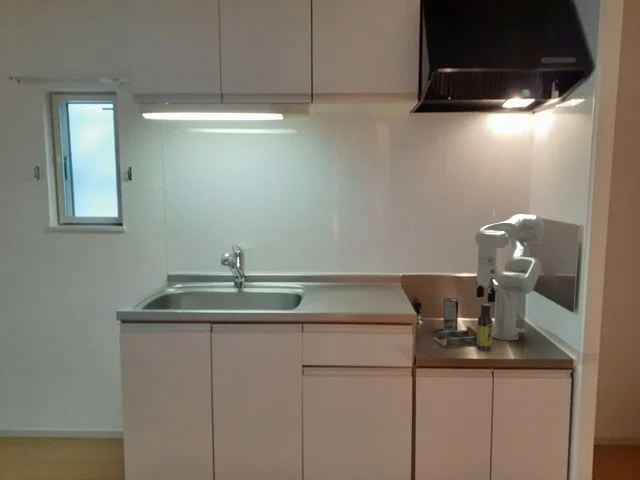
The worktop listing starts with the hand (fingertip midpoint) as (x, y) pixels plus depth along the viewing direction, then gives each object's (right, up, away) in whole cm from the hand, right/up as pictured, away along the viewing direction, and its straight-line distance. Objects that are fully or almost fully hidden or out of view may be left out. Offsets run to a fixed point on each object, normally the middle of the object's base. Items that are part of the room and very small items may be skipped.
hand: (485, 299), depth 207 cm
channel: (-9, -21, +11) cm, 26 cm away
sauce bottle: (0, -22, +3) cm, 22 cm away
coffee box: (-8, -20, +27) cm, 34 cm away
